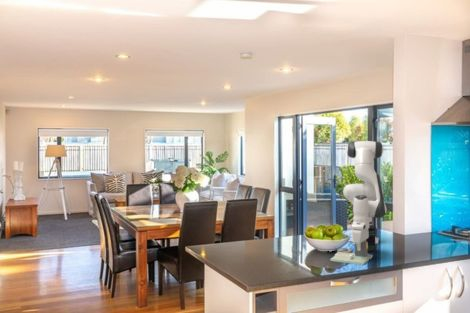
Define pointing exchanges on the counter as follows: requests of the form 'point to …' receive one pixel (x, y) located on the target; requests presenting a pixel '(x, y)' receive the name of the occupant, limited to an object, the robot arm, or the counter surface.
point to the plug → (362, 249)
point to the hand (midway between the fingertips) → (361, 248)
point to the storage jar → (371, 239)
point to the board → (349, 257)
